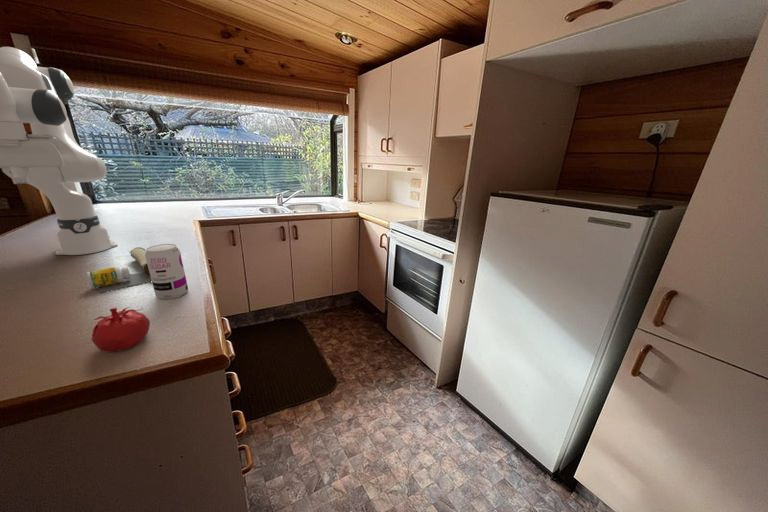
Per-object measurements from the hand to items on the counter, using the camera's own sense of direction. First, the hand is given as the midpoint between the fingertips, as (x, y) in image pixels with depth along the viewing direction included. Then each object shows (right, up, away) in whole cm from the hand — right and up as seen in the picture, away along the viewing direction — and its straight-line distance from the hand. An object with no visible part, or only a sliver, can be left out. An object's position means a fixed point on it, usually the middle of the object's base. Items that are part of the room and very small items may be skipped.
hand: (21, 183), depth 86 cm
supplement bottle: (+16, -29, +3) cm, 33 cm away
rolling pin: (+19, -26, +22) cm, 39 cm away
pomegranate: (+48, -41, -19) cm, 66 cm away
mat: (+23, -29, +12) cm, 39 cm away
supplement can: (+42, -33, +3) cm, 54 cm away
